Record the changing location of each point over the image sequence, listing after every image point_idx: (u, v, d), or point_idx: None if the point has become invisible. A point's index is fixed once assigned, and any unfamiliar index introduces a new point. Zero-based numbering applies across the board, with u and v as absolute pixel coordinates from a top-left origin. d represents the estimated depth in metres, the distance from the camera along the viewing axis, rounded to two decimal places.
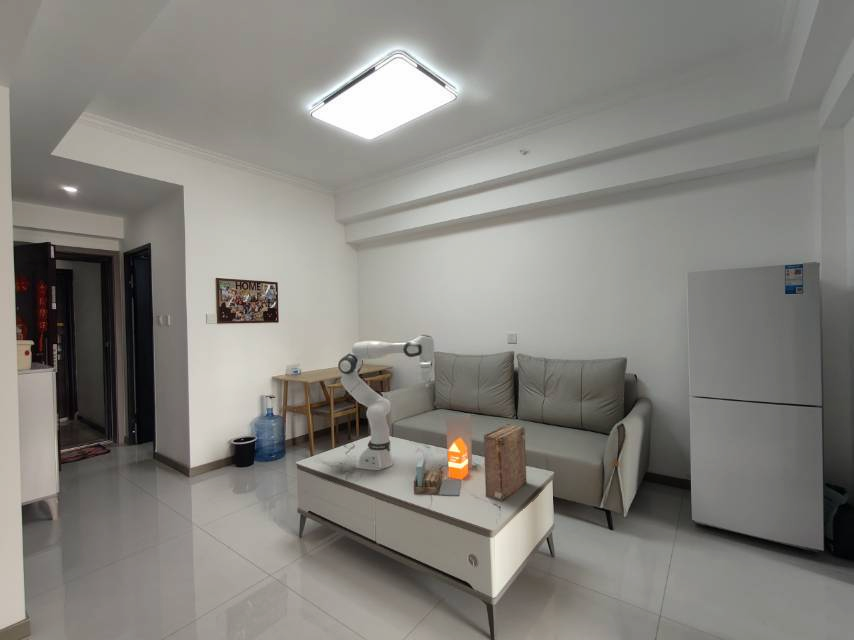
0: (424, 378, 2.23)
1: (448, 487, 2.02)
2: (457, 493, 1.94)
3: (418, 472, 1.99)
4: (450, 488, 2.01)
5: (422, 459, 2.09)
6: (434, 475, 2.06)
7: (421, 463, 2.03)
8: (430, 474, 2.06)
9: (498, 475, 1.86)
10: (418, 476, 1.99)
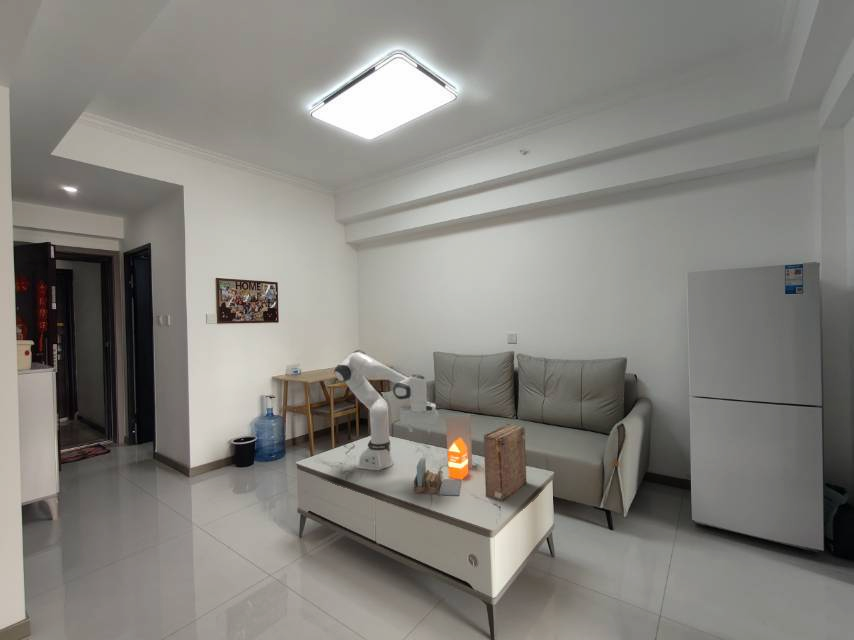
0: (438, 421, 2.02)
1: (448, 487, 2.02)
2: (457, 493, 1.94)
3: (418, 472, 1.99)
4: (450, 488, 2.01)
5: (422, 459, 2.09)
6: (434, 475, 2.06)
7: (421, 463, 2.03)
8: (430, 474, 2.06)
9: (498, 475, 1.86)
10: (418, 476, 1.99)
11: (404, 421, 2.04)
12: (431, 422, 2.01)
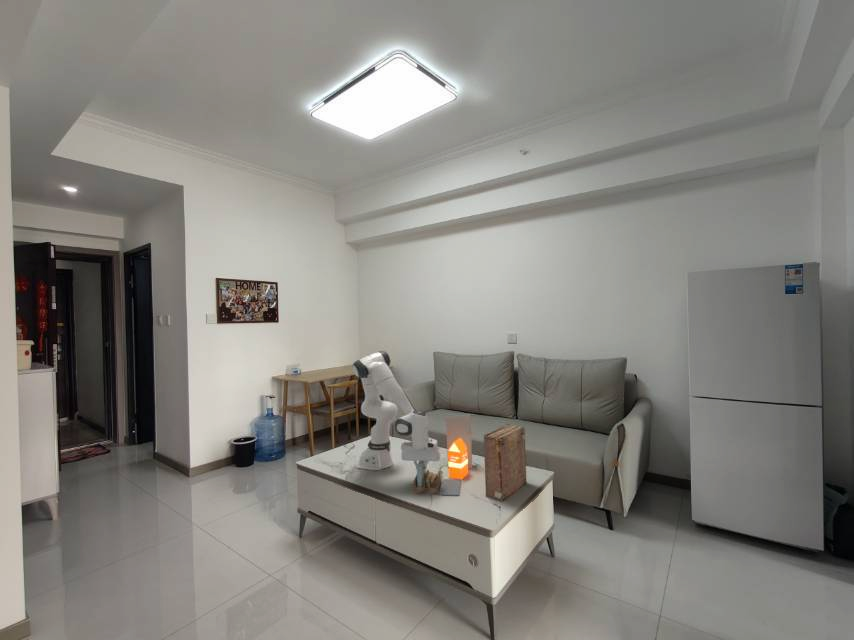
0: (439, 458, 2.03)
1: (448, 487, 2.02)
2: (457, 493, 1.94)
3: (418, 472, 1.99)
4: (450, 488, 2.01)
5: None
6: (434, 475, 2.06)
7: (421, 463, 2.03)
8: (430, 474, 2.06)
9: (498, 475, 1.86)
10: (418, 476, 1.99)
11: (405, 457, 2.04)
12: (432, 459, 2.02)
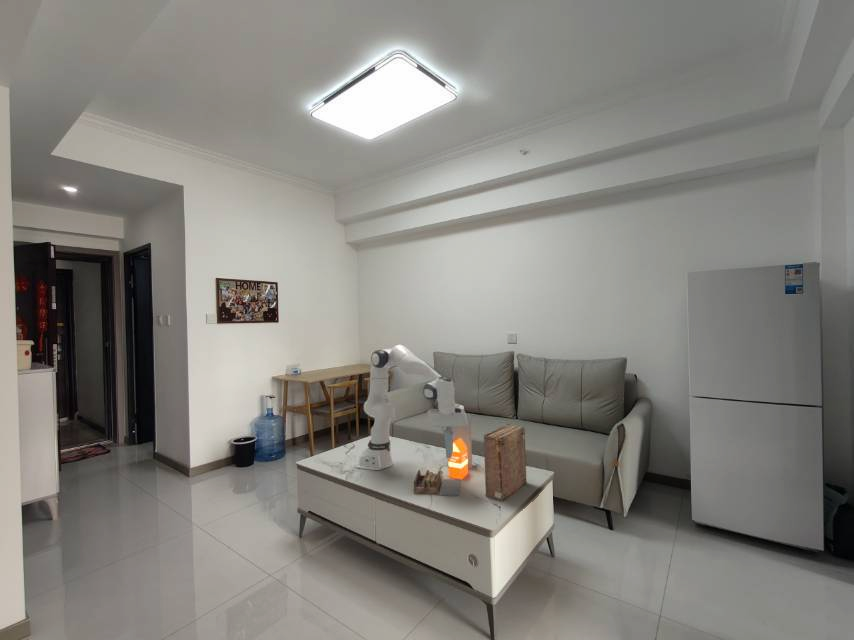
0: (467, 423, 2.00)
1: (448, 487, 2.02)
2: (457, 493, 1.94)
3: (446, 438, 1.96)
4: (450, 488, 2.01)
5: None
6: (434, 475, 2.06)
7: (448, 429, 2.00)
8: (430, 474, 2.06)
9: (498, 475, 1.86)
10: (446, 442, 1.96)
11: (432, 424, 2.01)
12: (460, 424, 1.99)
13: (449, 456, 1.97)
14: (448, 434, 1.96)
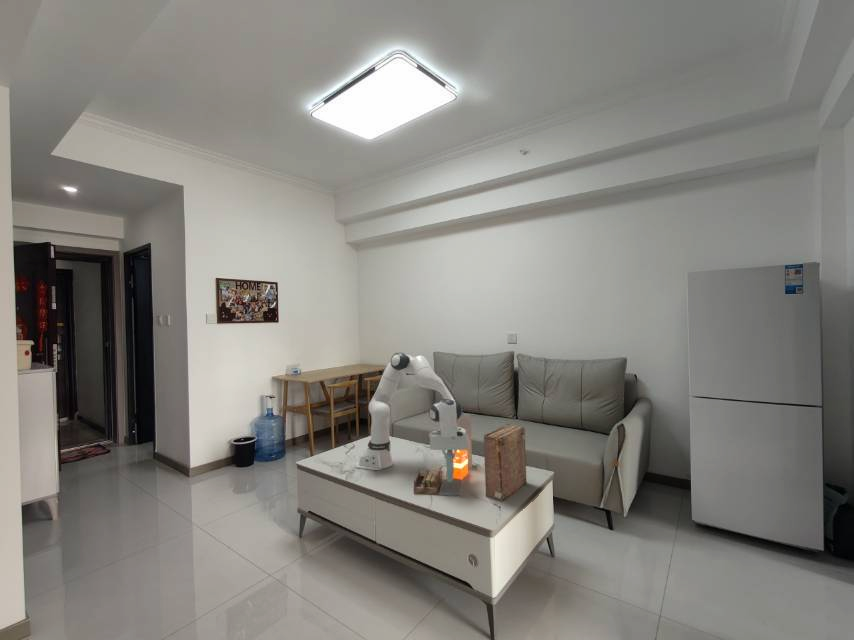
0: (468, 447, 2.01)
1: (448, 487, 2.02)
2: (457, 493, 1.94)
3: (447, 462, 1.97)
4: (450, 488, 2.01)
5: None
6: (434, 475, 2.06)
7: (450, 453, 2.01)
8: (430, 474, 2.06)
9: (498, 475, 1.86)
10: (447, 466, 1.97)
11: (434, 446, 2.02)
12: (462, 448, 2.00)
13: (450, 480, 1.97)
14: (449, 457, 1.96)
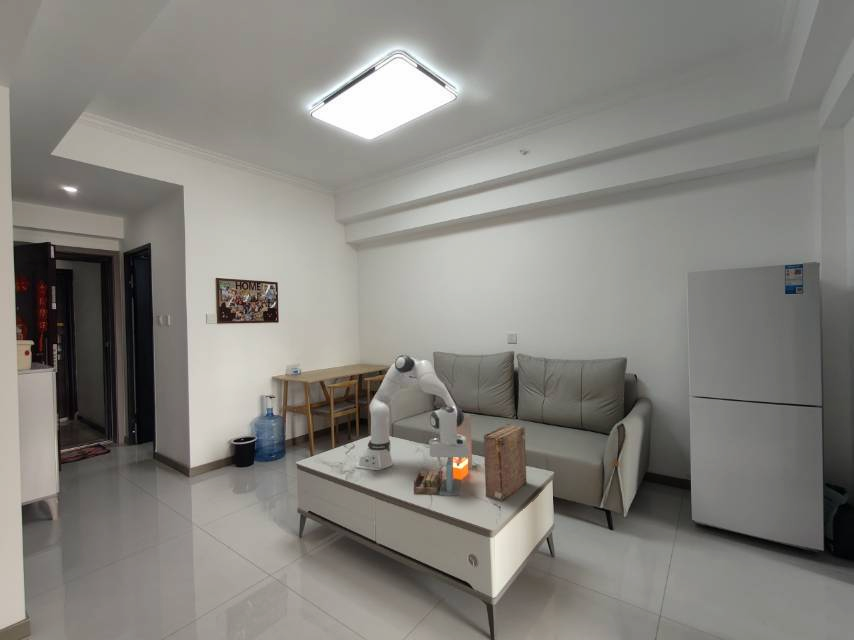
0: (468, 454, 2.00)
1: None
2: (457, 493, 1.94)
3: (447, 471, 1.97)
4: None
5: (450, 458, 2.06)
6: (434, 475, 2.06)
7: (450, 462, 2.01)
8: (430, 474, 2.06)
9: (498, 475, 1.86)
10: (447, 475, 1.97)
11: (433, 454, 2.02)
12: (461, 455, 1.99)
13: (449, 490, 1.97)
14: (449, 467, 1.96)
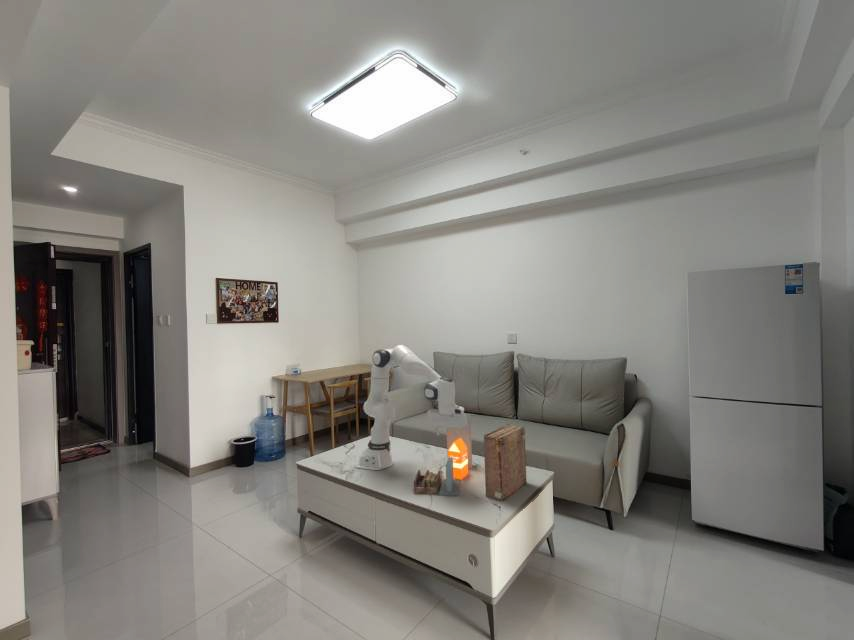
0: (466, 425, 2.00)
1: None
2: (457, 493, 1.94)
3: (447, 471, 1.97)
4: None
5: (450, 458, 2.06)
6: (434, 475, 2.06)
7: (450, 462, 2.01)
8: (430, 474, 2.06)
9: (498, 475, 1.86)
10: (447, 475, 1.97)
11: (431, 424, 2.01)
12: (459, 425, 1.99)
13: (449, 490, 1.97)
14: (449, 467, 1.96)
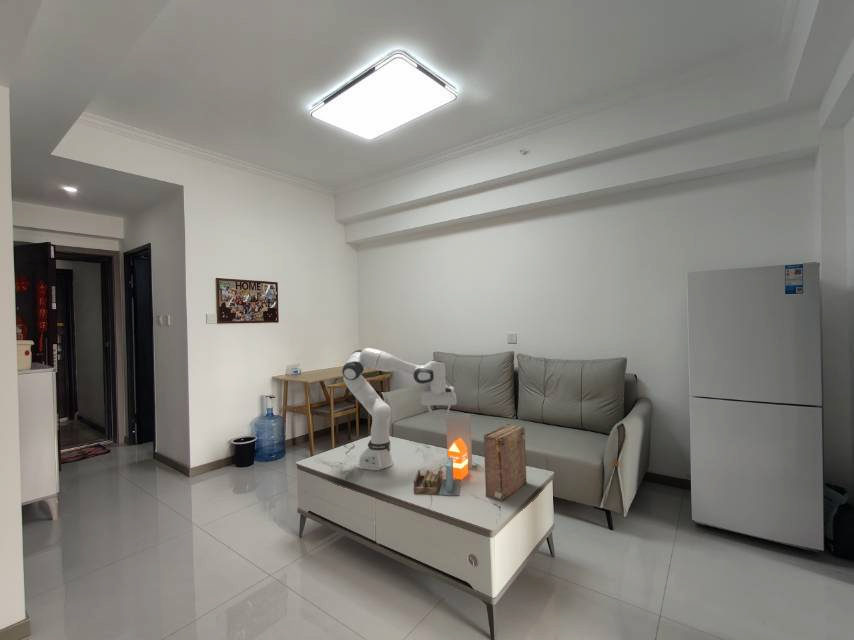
0: (456, 402, 2.20)
1: None
2: (457, 493, 1.94)
3: (447, 471, 1.97)
4: None
5: (450, 458, 2.06)
6: (434, 475, 2.06)
7: (450, 462, 2.01)
8: (430, 474, 2.06)
9: (498, 475, 1.86)
10: (447, 475, 1.97)
11: (424, 402, 2.21)
12: (450, 403, 2.19)
13: (449, 490, 1.97)
14: (449, 467, 1.96)
